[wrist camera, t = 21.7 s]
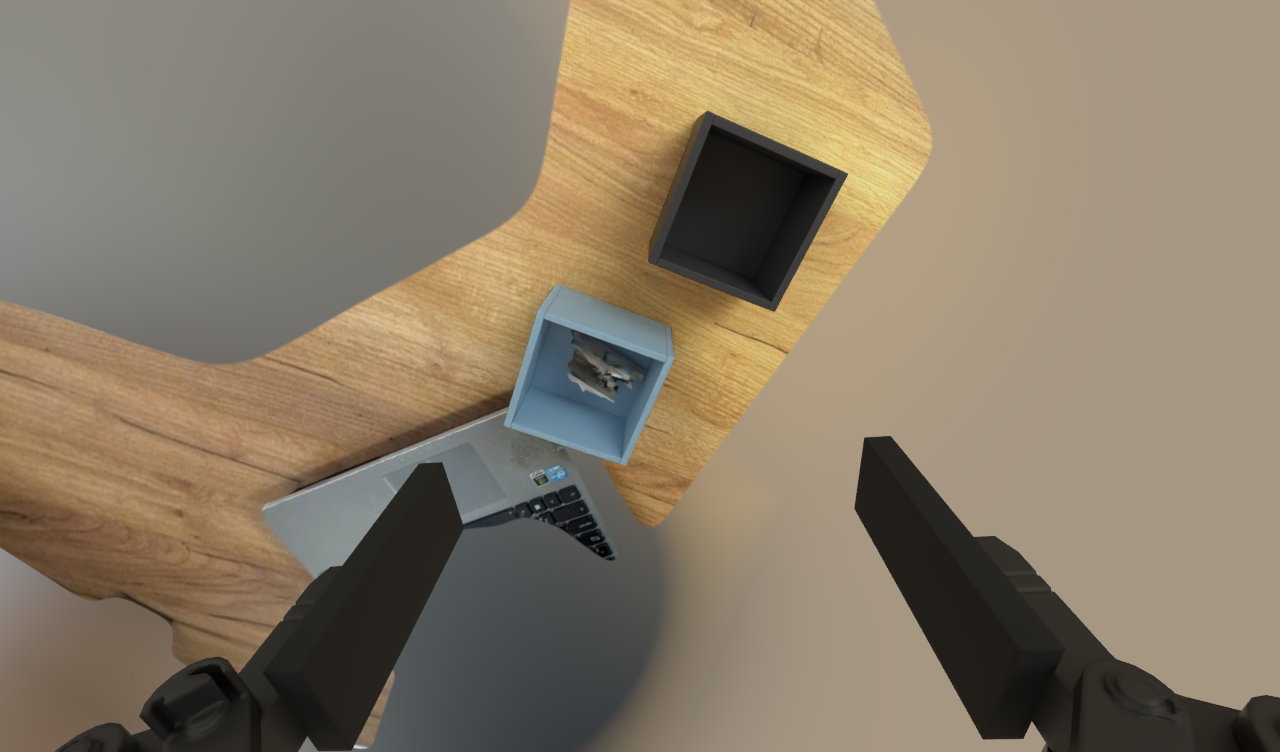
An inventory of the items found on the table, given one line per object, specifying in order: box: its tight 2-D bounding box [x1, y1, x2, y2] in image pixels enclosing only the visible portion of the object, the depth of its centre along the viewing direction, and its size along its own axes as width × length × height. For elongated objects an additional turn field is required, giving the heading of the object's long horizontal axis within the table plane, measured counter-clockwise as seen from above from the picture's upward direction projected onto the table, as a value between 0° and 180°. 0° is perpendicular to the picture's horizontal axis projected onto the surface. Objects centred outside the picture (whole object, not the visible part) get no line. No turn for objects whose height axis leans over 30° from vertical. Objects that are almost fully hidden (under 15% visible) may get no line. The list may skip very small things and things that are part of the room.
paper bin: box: [504, 284, 674, 466], centre depth 42 cm, size 11×11×8 cm
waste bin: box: [648, 111, 848, 312], centre depth 36 cm, size 10×10×8 cm
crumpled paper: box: [566, 329, 645, 403], centre depth 42 cm, size 4×8×7 cm, turn 56°
